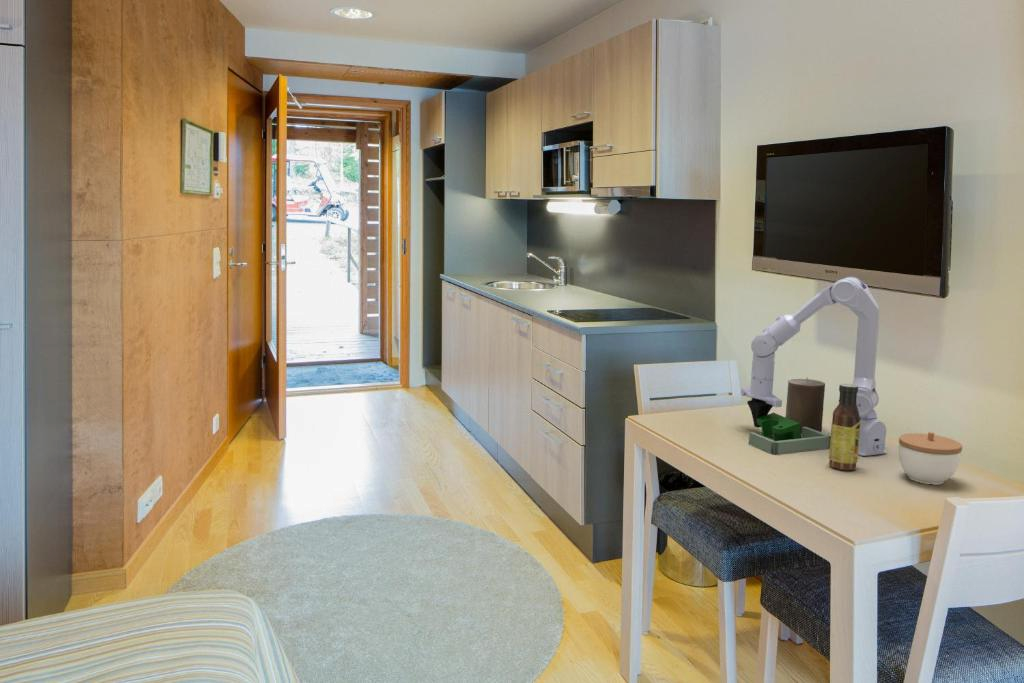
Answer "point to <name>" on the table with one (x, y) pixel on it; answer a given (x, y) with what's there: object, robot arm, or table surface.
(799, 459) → the table surface
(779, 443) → the bracket
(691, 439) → the table surface
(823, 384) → the pillar candle
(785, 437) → the clamp
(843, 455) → the sauce bottle
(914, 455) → the lidded bowl
